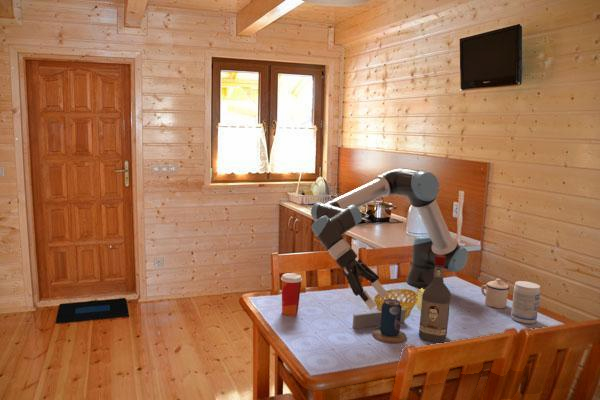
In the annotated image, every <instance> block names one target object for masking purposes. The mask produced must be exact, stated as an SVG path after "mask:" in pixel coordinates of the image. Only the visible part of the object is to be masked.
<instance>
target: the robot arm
mask: <svg viewBox="0 0 600 400" xmlns="http://www.w3.org/2000/svg"><path fill="white" fill-rule="evenodd" d="M439 188H440V182H439V179H438V178H437V176H436V175H435V174H434V173H432V172H429V171H428V170H427V171H426V170H420V169H412V168H411V169H410V168H404V167H399V168H394V169H390V170H388V171H385V172H382V173H381V174H378V175H377V176H375V177H374V179H373V180H372V181H370V182H368V183H366V184H363V185H361V186H359V187H357V188H355V189H353V190H351V191H348V192H347V193H344V194H342V195H340V196H337V197H336V198H333V199H331V200H329V201H327V202H316V203H314V204H313V206H312V207H311V209H310V215H311V217H312V219H313V220H314V222H313V223H312V224H311V230H312V232H313V233H314V235H315V236H316V238H317V239H318V240H319V241H320V243H321V244H322V246H323V247H324V248H325V249H326V251H327V252H328V253H329V256H331V257H332V259H334V260H335V262H336V264H337V265H338V266H339V268H340V269H343V270H342V273H343V275H344V276H345V278H346V280H347V282H348V284H349V286H350V288H351V291H352V293H353V294H354V295H355V297H360V298H361V299H362V301H363V302H364V303H365V305H366V306H367V307H368V309H369V310H370V311H371V310H373V309H374V308H376V307H377V306H378V304H377V303H376V302H375V301H374V299H373V298H372V297H371V296H370V294H369V293H368V292H367V290H366V289H364V286H363V284H362V280H361V278H360V276H361V277H362V278H363V279H365V280H367V281H368V282H370V283H371V286H372V287H373V288H374V290H375V291H376V292H377V293H378V295H379V297H380V298H381V299H384V298H385V297H387V296H388V295H389V293H388V291H386V289H385V287H384V286H383V285H382V283H380V282H379V278H380V277H379V276H378V274H377V273H376V272H374V271H373V270H372V269H371V268H370V267H369V266H368V265H366V263H364V262H363V261H362V259H360V258H359V259H357V258H358V254H357V253H356V252H355V250H354V249H353V248H351V245H350V244H349V243H348V241H347V240H346V239H345V238H344V237H343V235H344V234H345V233H347V232H348V231H351V230H352V229H353V228H354V227H356V226H357V225H359V223H361V222H362V221H363V214H362V211H361V210H360V209H359V208H361V207H363V206H365V205H367V204H369V203H371V202H373V201H375V200H377V199H379V198H387V197H388V196H390V195H392V196H394V195H395V196H396V195H398V196H402V197H407V199H408V201H409V203H410V205H411V207H414V208H416V209H417V212H418V213H419V214H418V215H419V216H420V218H421V221H422V223H423V225H424V227H425V229H426V232H427V234H425V235H418V236H416V237H414V240H413V244H412V255H411V257H412V258H411V267H410V269H409V270H408V273H407V276H406V283H407V284H408V285H410V286H412V287H416V288H421V287H424V288H423V289H426V287H427V286H428V285H429V284H430V283H432V282H433V279H434V271H435V264H434V262H435V255H444V256H446V262H445V266H444V270H445V271H449V272H453V273H458V272H461V270H463V269H464V267H465V266H466V263H467V261H468V257H469V255H468V254H469V253H468V250H467V248H465V247H464V246H460V245H459V242H458V240H457V238H456V237H454V236H452V235H451V233H450V230H449V228H448V225H447V223H446V220H445V219H444V217H443V214H442V211H441V209H440V206H439V204H438V202H437V198H438V194H439V191H440V189H439ZM356 259H357V260H356Z"/></svg>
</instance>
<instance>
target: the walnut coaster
mask: <svg viewBox="0 0 600 400" xmlns="http://www.w3.org/2000/svg"><path fill="white" fill-rule="evenodd" d="M371 333H372V337H373V338H374V339H375V340H378V341H379V340H380V341H379V342H382V341H383V342H382V343H386V342H388V343H387V344H399V343H400V342H401V343H404V342H406V340H407V334H406V333H405V332H403V331H401V330H400V332H399V334H398V335H397V336H396V337H386V336H384V335H382V333H381V331H380V327H379V328H375V329H373V330H372V332H371ZM403 341H404V342H403Z"/></svg>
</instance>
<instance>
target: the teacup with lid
mask: <svg viewBox="0 0 600 400" xmlns="http://www.w3.org/2000/svg"><path fill="white" fill-rule="evenodd" d="M485 288H486V291H485ZM480 290H481V294H482V295H483V296H484V297H485V298H484V304H485V305H486V306H487V307H490V308H493V309H504V308H507V304H508V303H507V302H508V295H509V294H508V293H509V290H510V286H509V285H508V284H507V283H505V282H504V281H502V279H501V278H495V280H493V281H492V280H491V281H488V282H486V284H483V285H481V289H480Z"/></svg>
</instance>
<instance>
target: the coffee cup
mask: <svg viewBox="0 0 600 400" xmlns="http://www.w3.org/2000/svg"><path fill="white" fill-rule="evenodd" d="M280 281H281V314H282V315H284V316H288V317H293V316H296V315H298V312H299V306H300V305H299V304H300V295H301V287H302V281H303V278H302V275H301V274H298V273H294V272H287V273H286V272H285V273H284V274H282V275H281V277H280Z"/></svg>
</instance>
